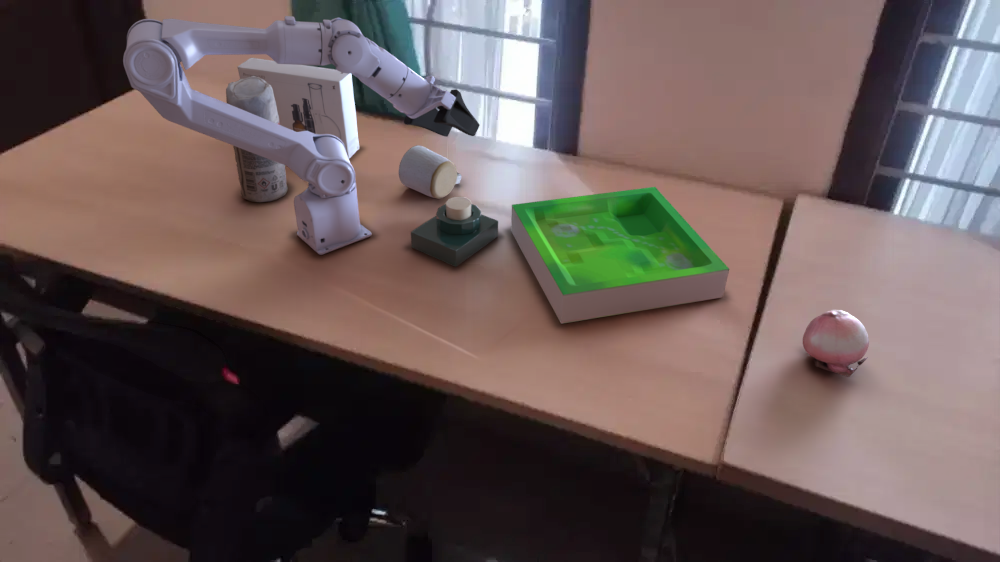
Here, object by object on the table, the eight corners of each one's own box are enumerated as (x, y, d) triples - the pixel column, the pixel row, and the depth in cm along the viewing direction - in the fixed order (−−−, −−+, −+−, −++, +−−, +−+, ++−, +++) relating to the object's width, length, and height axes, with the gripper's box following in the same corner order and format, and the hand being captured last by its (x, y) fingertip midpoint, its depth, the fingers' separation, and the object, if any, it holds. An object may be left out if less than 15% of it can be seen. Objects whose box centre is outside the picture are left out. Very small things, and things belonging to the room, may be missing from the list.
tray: (561, 323, 107) (563, 294, 104) (511, 231, 126) (511, 204, 124) (723, 297, 113) (729, 269, 110) (651, 212, 132) (655, 186, 129)
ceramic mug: (433, 207, 132) (432, 166, 128) (398, 192, 136) (396, 152, 132) (472, 185, 139) (472, 146, 135) (438, 171, 143) (437, 133, 139)
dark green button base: (456, 267, 118) (455, 239, 115) (411, 247, 122) (409, 220, 119) (498, 236, 125) (498, 209, 122) (454, 219, 129) (454, 192, 126)
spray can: (297, 182, 139) (280, 74, 127) (281, 205, 132) (263, 93, 121) (251, 179, 139) (230, 72, 128) (234, 202, 133) (210, 91, 121)
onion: (847, 341, 105) (863, 299, 101) (871, 380, 99) (889, 337, 94) (789, 342, 105) (802, 299, 100) (810, 381, 98) (825, 338, 94)
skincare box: (250, 145, 151) (235, 65, 142) (265, 133, 155) (251, 56, 146) (348, 160, 146) (339, 80, 137) (361, 148, 150) (353, 69, 141)
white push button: (460, 224, 119) (460, 212, 118) (440, 216, 121) (440, 204, 120) (476, 213, 122) (476, 201, 121) (456, 205, 124) (456, 194, 123)
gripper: (432, 54, 108) (499, 106, 116) (384, 63, 120) (448, 110, 128) (411, 97, 107) (480, 147, 115) (364, 102, 119) (430, 147, 127)
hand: (462, 130), depth 122 cm, fingers open, 7 cm apart
